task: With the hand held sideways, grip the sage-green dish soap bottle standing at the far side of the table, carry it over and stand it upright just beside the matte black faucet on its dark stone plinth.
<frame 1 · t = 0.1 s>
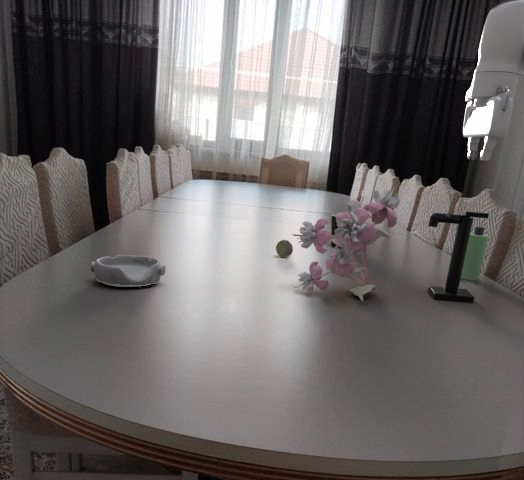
hand: (477, 159, 114), 31 cm above the table, tool pointing down, fingers open, 8 cm apart
faucet: (449, 297, 123), on the table
flower: (332, 295, 118), on the table
soap bottle: (468, 278, 144), on the table
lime: (283, 257, 153), on the table
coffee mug: (344, 247, 176), on the table
dish: (127, 282, 115), on the table
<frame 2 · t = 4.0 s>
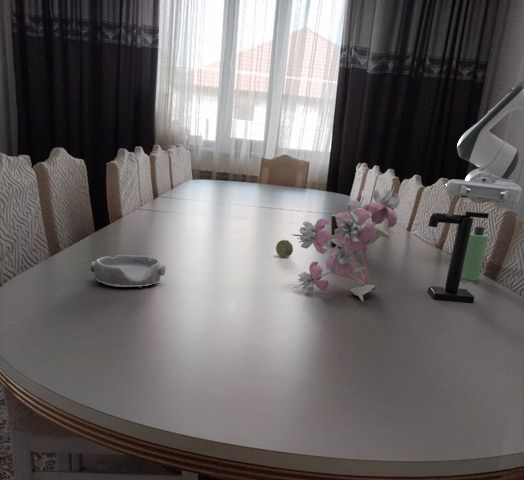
hand: (484, 193, 144), 22 cm above the table, tool horizontal, fingers open, 8 cm apart
nothing on the table moved.
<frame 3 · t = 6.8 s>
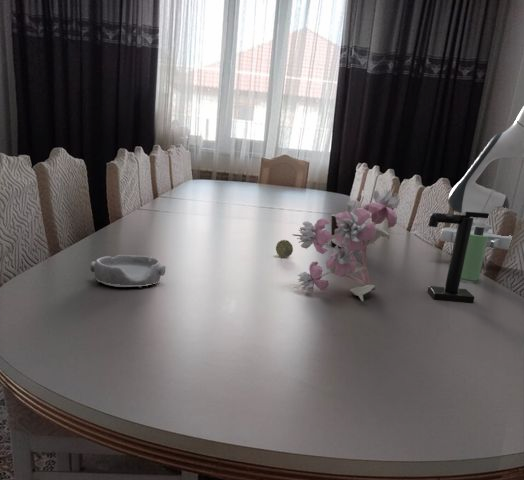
hand: (475, 241, 150), 9 cm above the table, tool horizontal, fingers open, 8 cm apart
nothing on the table moved.
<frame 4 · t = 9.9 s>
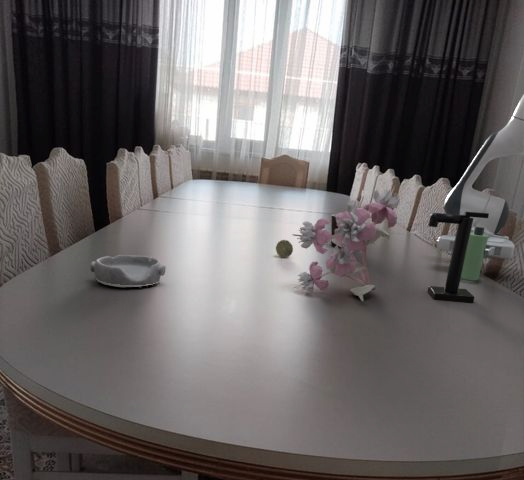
hand: (474, 251, 140), 8 cm above the table, tool horizontal, fingers closed on soap bottle, 5 cm apart
soap bottle: (468, 278, 144), on the table, touching gripper
everything else where it was.
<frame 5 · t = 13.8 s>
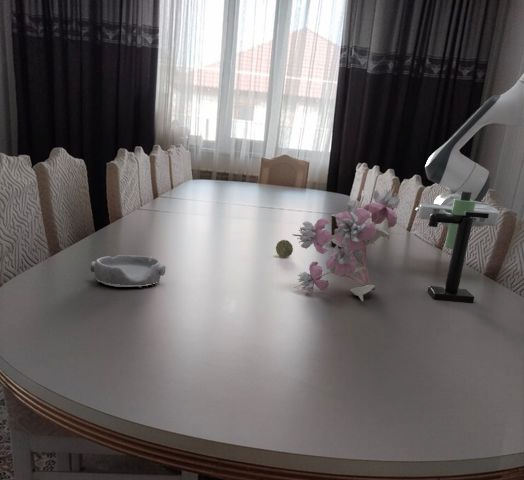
hand: (462, 218, 131), 17 cm above the table, tool horizontal, fingers closed on soap bottle, 5 cm apart
soap bottle: (455, 247, 135), point 9 cm above the table, touching gripper
everything else where it was.
when the fingers open (8 cm above the table, at t = 18.1 s): soap bottle stays where it is, on the table.
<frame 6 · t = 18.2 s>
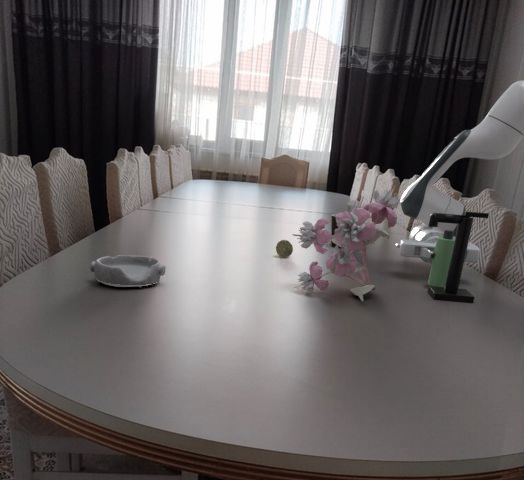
hand: (445, 256, 130), 8 cm above the table, tool horizontal, fingers open, 5 cm apart
soap bottle: (438, 285, 133), on the table
everything else where it was.
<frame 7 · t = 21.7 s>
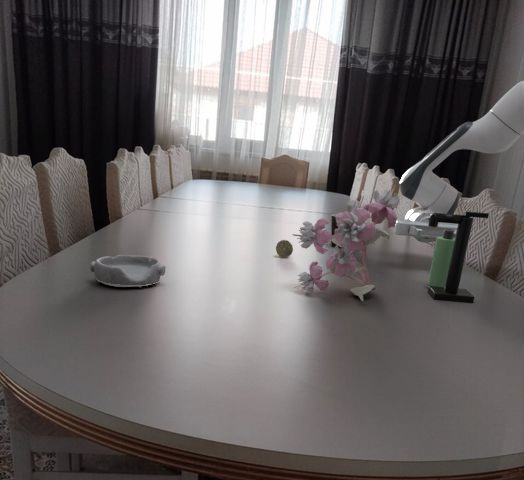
hand: (436, 234, 140), 11 cm above the table, tool horizontal, fingers open, 8 cm apart
nothing on the table moved.
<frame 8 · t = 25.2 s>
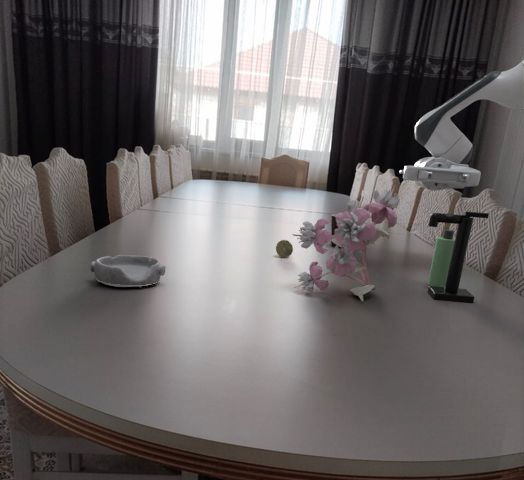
hand: (447, 177, 135), 26 cm above the table, tool horizontal, fingers open, 8 cm apart
nothing on the table moved.
at the end: soap bottle inside the target area on the table beside the faucet (0.6 cm from its centre), on the table; soap bottle tilted 0°; the gripper is holding nothing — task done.
